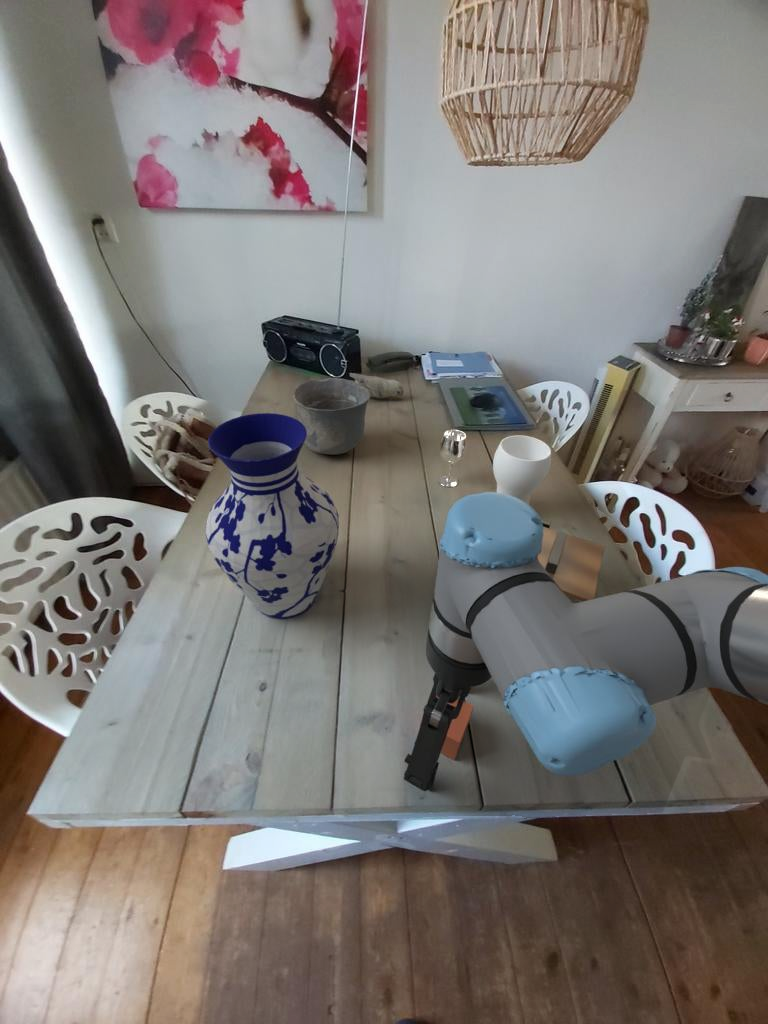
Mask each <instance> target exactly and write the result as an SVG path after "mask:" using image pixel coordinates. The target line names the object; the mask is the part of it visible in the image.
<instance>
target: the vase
mask: <svg viewBox="0 0 768 1024" xmlns="http://www.w3.org/2000/svg"><path fill="white" fill-rule="evenodd" d="M306 436H307V431H306V428H305V426H304V425H303V424H302V423H301V422H299V421H298V419H297V418H294V417H292V416H289V415H285V414H282V413H281V414H279V413H272V412H271V413H270V412H262V413H259V412H258V413H252V414H245V415H241V416H237V417H233V418H232V419H229V420H226V421H225V422H223V423H221V424H219V425H217V427H216V428H214V429H213V430H212V431H211V433H210V434H209V436H208V439H207V445H208V447H209V449H210V450H211V452H212V453H213V454H214V455H216V456H217V458H218V459H219V460H220V461H221V462H222V463H223V464H224V465H225V466H226V467H227V469H228V470H229V473H230V483H229V485H228V487H226V489H225V490H224V492H222V494H220V496H219V497H218V498H217V499H216V500H215V502H214V503H213V505H212V507H211V509H209V512H208V515H207V520H206V523H205V541H206V543H207V546H208V549H209V551H210V553H211V556H212V558H213V560H214V561H215V563H216V564H217V566H219V568H220V569H221V571H222V572H223V573H224V574H225V576H227V577H228V578H229V581H230V582H231V583H232V584H234V586H235V587H236V588H237V589H238V590H239V591H240V593H242V594H243V596H245V598H247V599H248V601H250V603H251V604H252V605H253V606H254V607H255V608H256V610H258V611H259V612H260V613H261V614H263V615H264V616H267V617H269V618H273V619H290V618H294V617H297V616H299V615H302V614H304V613H305V612H307V611H308V610H309V609H311V607H312V606H313V605H314V604H315V603H316V601H317V599H318V598H319V595H320V594H319V593H320V592H321V588H322V586H323V583H324V581H325V578H326V576H327V574H328V571H329V567H330V565H331V563H332V559H333V557H334V553H335V550H336V546H337V544H338V538H339V535H340V533H339V532H340V517H339V512H338V509H337V507H336V505H335V504H336V503H335V502H334V500H333V499H332V497H331V495H329V493H328V492H327V491H326V490H325V489H324V488H323V487H322V486H320V484H318V483H316V482H314V481H313V480H312V479H310V478H309V477H307V476H305V475H304V474H302V473H301V471H300V470H299V468H298V457H299V454H300V452H301V450H302V448H303V446H304V441H305V439H306Z"/></svg>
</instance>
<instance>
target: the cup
mask: <svg viewBox="0 0 768 1024" xmlns="http://www.w3.org/2000/svg"><path fill="white" fill-rule="evenodd" d="M551 464H552V449H551V448H550V446H549V445H548V444H547V443H546V442H544V441H543V440H541V439H538V438H536V437H533V436H530V435H521V434H519V435H510V436H507V437H504V438H503V439H502V440H501V441H500V442H499V444H498V446H497V448H496V451H495V452H494V456H493V461H492V471H493V475H494V480H495V481H496V493H503V494H507V495H510V496H513V497H516V498H518V499H520V500H522V501H524V502H525V503H527V504H528V505H530V501H531V497H532V495H533V493H534V491H536V490H537V489H538V488H539V487H541V485H542V484H543V482H544V481H545V480H546V478H547V476H548V474H549V472H550V469H551Z"/></svg>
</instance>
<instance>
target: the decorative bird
mask: <svg viewBox="0 0 768 1024" xmlns="http://www.w3.org/2000/svg"><path fill="white" fill-rule="evenodd" d="M349 377H350V378H352V379H354V382H356V383H359V387H361V386H362V387H365V389H367V390H368V391H369V393H370V398H375V399H387V398H389V397H391V396H393V397H397V399H399V400H401V401H403V399H404V387H403V385H402V383H401V382H399V381H398V380H396V379H388V378H384V377H380V376H374V375H365V374H360V373H355V372H353V373H352V372H349Z"/></svg>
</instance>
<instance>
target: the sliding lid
mask: <svg viewBox="0 0 768 1024" xmlns="http://www.w3.org/2000/svg"><path fill="white" fill-rule="evenodd" d="M543 533H544V535H543V539H542V546H541V548H542V550H541V552H540V554H539V555H538V560H539V562H540V563H541V565H542V566H543V567H544V568H545V570H546V571H547V572H548V573H549V575H550V576H551V577H552V579H553V580H554V581H555V583H556V584H557V585H558V586H559V587H560V589H561V591H562V592H563V593H564V594H565V595H566V596H567V597H568V598H572V599H575V600H577V601H579V602H583V601H587V600H592V599H595V597H596V592H597V587H598V582H599V577H600V573H601V572H600V571H601V566H602V563H603V562H602V561H603V557H604V556H603V555H604V551H605V545H602V544H599V543H595V542H593V541H590V540H586V539H583V538H581V537H578V536H574V535H571V534H568V533H565V532H561V531H558V530H555V529H552V528H550V527H549V528H546V527H543Z"/></svg>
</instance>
